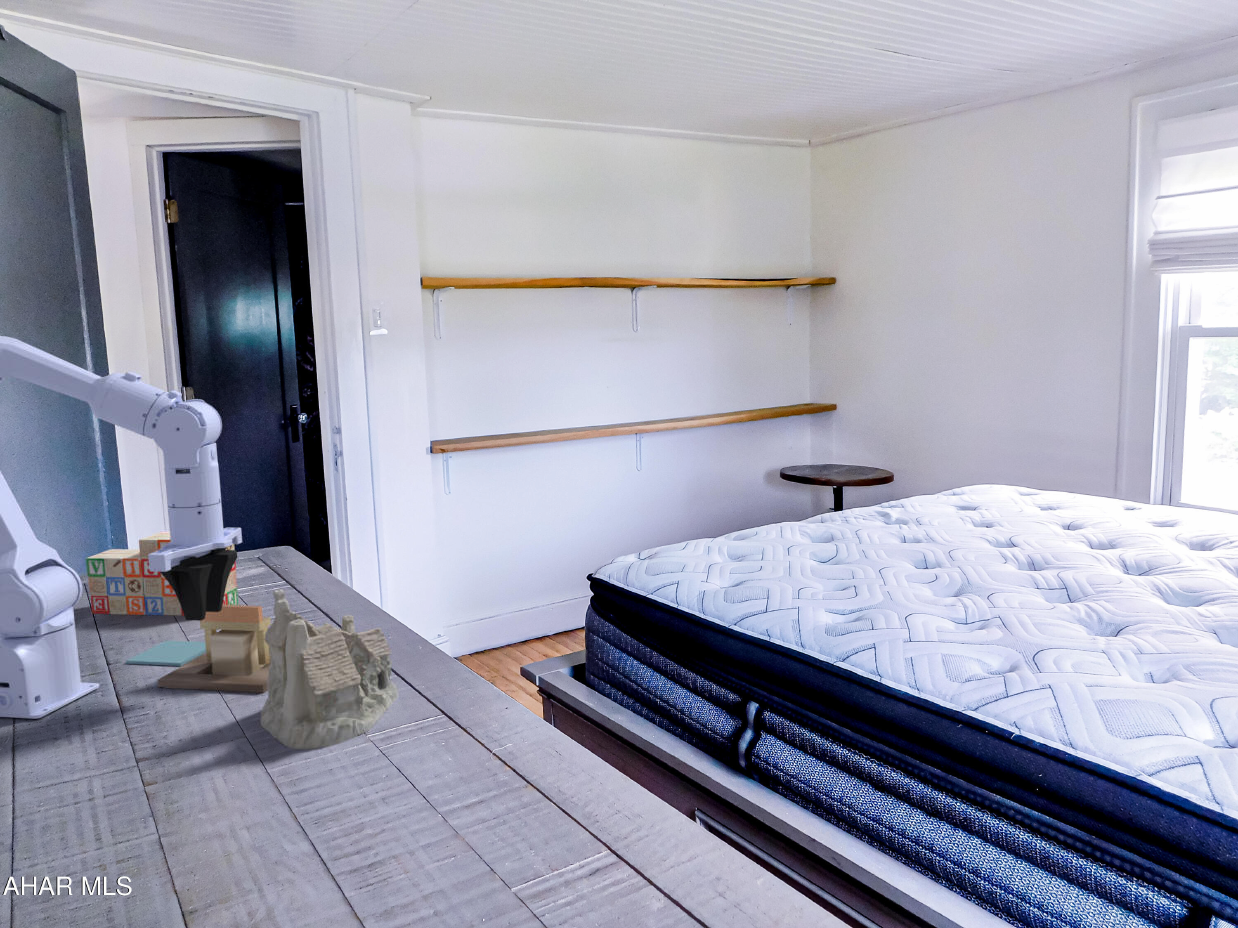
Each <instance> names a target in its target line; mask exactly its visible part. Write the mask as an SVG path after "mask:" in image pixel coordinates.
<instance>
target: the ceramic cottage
mask: <svg viewBox="0 0 1238 928" xmlns="http://www.w3.org/2000/svg"><path fill="white" fill-rule="evenodd" d="M285 593H286V592H285V591H284V589H282V588H280V589H276V590H275V591H273V592H272V595H273V598H274V605H273V614H274V616H275V617H274V620H273V622H272V623H271V625H270V626H268V630H267V631H266V634H265V638H264V640H265V641H266V643H267V644H268V645H269V653H270V659H271V664H270V667H269V668H268V671H269V675H268V681H267V692H268V693H267V694H268V695H267V696H268V697H267V698H266V700H265V702H264V705H263V707H262V709H261V710H260V727H262V729H264V730H265V731H267V732H269V733H270V734H271V735H272V736H273V738H274V739H276V740H278V742H280V743H281V744H282V745H283V746H285V747H287V748H289V749H294V750H298V751H299V750H301V751H302V750H317V749H324V748H328V747H331V746H336V745H338V744H341V743H344V742H347V741H350V740H352V739H354V738H357V737H358V736H359V735H362V734H365V733H367V732H369V731H370V730H371V729H372V728H373V727H374V725H376V723H377V722H378V721H379V720H380V719H381V717H383V716H384V714H385V713H386V711H387V710H388V709H389V708H390V707H391V706H392V705H393V704H394V702H395V701H396V700H398V697H399V691H398V687H397V686H396V685H395V683H393V682H392V681H391V678H390V677H391V676H392V663H393V662H392V660H391V657H390V655H391V654H392V651H391V648H390V647H389V644H388V641H387V639H386V636H385V634H384V632H383V631H382V629H381V628H379V627H377V628H373V629H370V630H367V631H361V632H356V629H355V623H354V621H355V619H354V616H353V615H349V614H347V615H344V616H342V618H341V626H340V627H341V629H339V628H338V627H335V626H333V625H332V624H330V623H328V622H324V623H323V624H322V625H321V626H318V627H316V625H315V624H313V623H312V622H309V621H308V620H306V619H305V618H304V617H303V616H302V615H300V614H299V613H298V612H295V611H291V609H290V604H289V601H288V600H287V599H286V594H285Z"/></svg>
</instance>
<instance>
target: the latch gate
mask: <svg viewBox="0 0 1238 928" xmlns="http://www.w3.org/2000/svg"><path fill="white" fill-rule="evenodd" d="M271 621H272V620H271V617H270V616H263V606H262V605H243V604H238V605H222V610H221V611H220V612H206V615H205V619H203V620H201V621H199V627H200V628H199V629H200V630H201V629H202V630H203V631H204V642H205V644H206V652H205V653H206V656H207V662H212V658H211V647H210V636H211V635H213V634H215V633H217V632H218V631H217V630H219V631H221V630H245V631H256V636H257V649H258V663H259V665H267V664H268V663H270V653H269V645H268V644H267V643H266V641H265V640H264V638H265V634H266V631H267V630H268V629H269V627H270V626H271V625H272V623H271Z"/></svg>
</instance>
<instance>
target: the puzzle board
mask: <svg viewBox="0 0 1238 928" xmlns="http://www.w3.org/2000/svg"><path fill="white" fill-rule="evenodd" d="M270 664H271V659H270V663H268V664H267V665H265V666H263V667H262V668H260V669H259V670H257V671H256V672H254V673H252V674H251V675H249V676H234V675H213V670H212V662H207V656H206V652H205V653H204V654H202V655H200V656H198V657H196V658H195V659H193V660H191V661H189V662H187V663H186V664H184V665H182V666H179V667H178V668H176V669H174V670H172V671H171V672H169V673H167V674H165V675H164V676H162V677H160V678H158V679H157V687H158V688H159V687H167V688H166V689H178V690H179V689H180V688H181V689H182V690H197V689H200V690H201V689H202V691H220V692H221V691H222V692H236V693H237V692H238V693H240V692H241V693H255V694H256V693H259V694H264V693H265V692H268V690H267V681H268V675H269V671H268V668H269V667H270ZM181 689H180V690H181Z"/></svg>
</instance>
